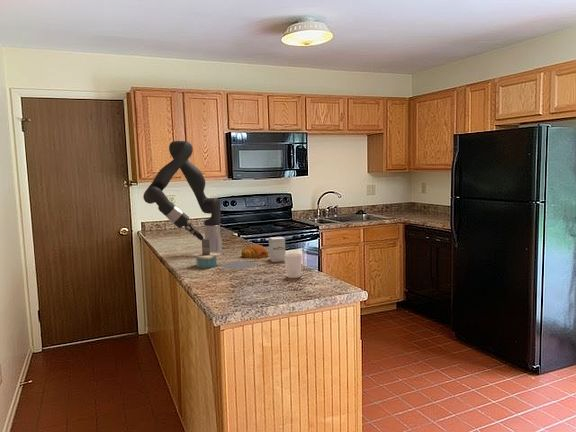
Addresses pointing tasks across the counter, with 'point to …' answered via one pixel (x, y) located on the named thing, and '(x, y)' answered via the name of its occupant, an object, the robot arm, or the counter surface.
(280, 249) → the supplement box
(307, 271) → the counter surface
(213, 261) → the bowl
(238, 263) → the mat
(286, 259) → the white cup
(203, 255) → the lid
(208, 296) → the counter surface
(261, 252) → the croissant
